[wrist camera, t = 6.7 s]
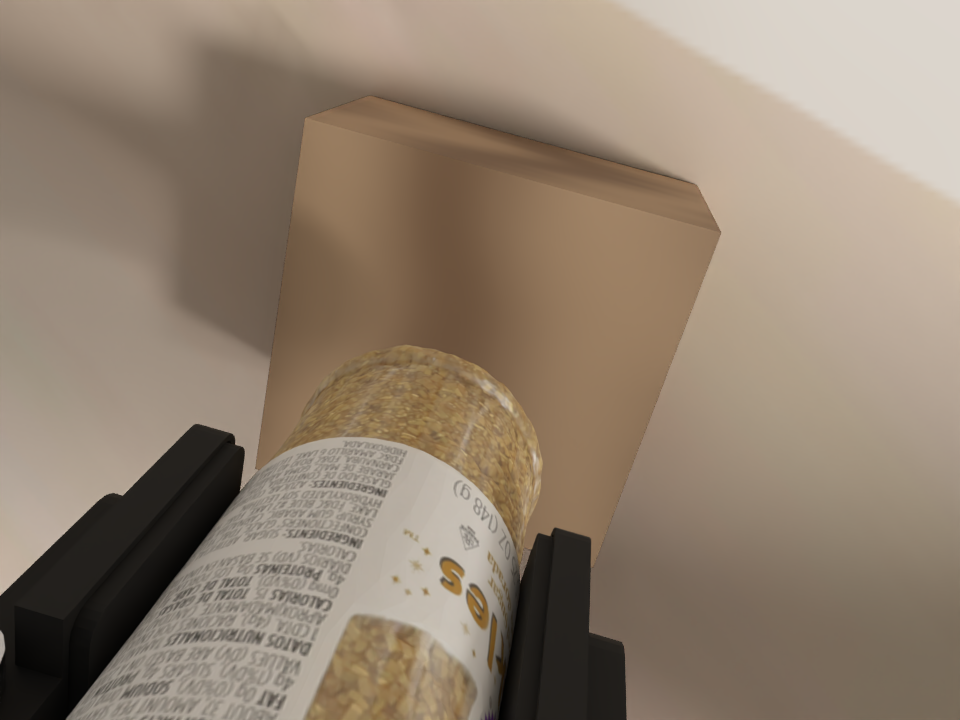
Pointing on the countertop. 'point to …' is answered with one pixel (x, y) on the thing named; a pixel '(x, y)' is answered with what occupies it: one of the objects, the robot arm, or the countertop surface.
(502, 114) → the countertop surface
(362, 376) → the sprinkles bottle
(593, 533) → the walnut block
